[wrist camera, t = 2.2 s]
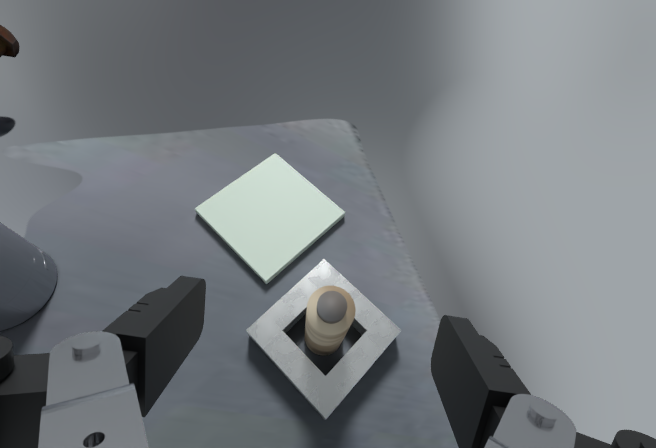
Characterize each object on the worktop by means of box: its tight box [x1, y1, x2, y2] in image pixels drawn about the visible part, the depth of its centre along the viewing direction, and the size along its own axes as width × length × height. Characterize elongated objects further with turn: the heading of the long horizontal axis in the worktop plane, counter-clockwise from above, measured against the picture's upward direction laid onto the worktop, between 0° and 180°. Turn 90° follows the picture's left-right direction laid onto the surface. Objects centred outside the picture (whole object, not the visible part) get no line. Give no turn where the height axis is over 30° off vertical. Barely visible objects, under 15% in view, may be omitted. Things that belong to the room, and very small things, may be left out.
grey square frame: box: [246, 259, 401, 420], centre depth 36 cm, size 11×11×2 cm
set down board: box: [195, 153, 345, 284], centre depth 44 cm, size 13×13×1 cm
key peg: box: [305, 285, 356, 356], centre depth 33 cm, size 4×4×11 cm
